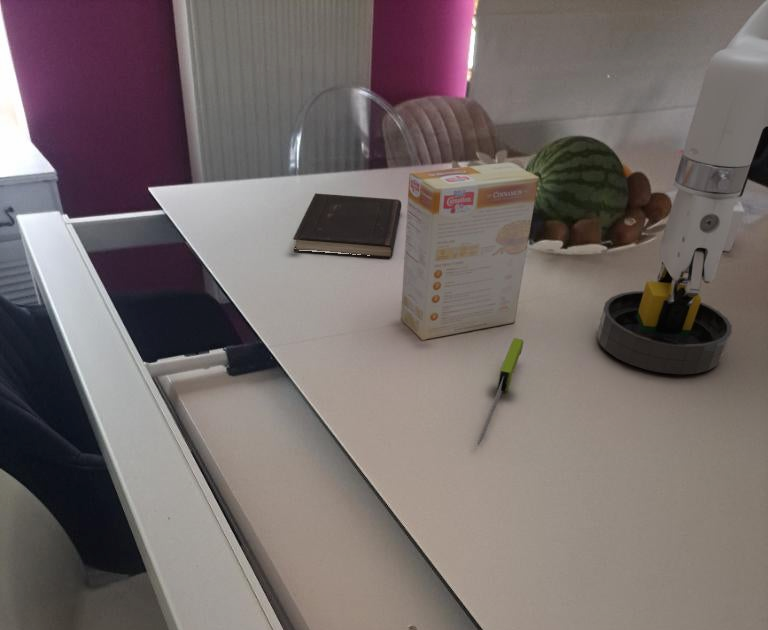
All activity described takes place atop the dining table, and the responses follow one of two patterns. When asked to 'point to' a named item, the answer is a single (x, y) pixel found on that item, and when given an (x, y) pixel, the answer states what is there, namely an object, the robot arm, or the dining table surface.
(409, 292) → the coffeecake box
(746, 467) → the dining table surface
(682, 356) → the bowl
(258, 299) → the dining table surface
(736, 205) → the medicine bottle
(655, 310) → the sponge
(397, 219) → the hardcover book
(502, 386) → the kitchen knife
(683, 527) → the dining table surface
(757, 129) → the robot arm
